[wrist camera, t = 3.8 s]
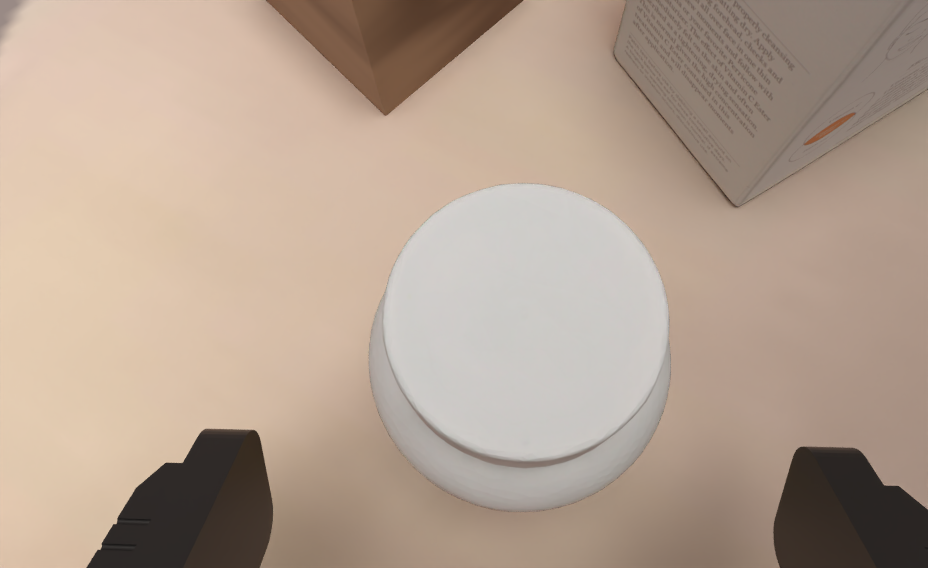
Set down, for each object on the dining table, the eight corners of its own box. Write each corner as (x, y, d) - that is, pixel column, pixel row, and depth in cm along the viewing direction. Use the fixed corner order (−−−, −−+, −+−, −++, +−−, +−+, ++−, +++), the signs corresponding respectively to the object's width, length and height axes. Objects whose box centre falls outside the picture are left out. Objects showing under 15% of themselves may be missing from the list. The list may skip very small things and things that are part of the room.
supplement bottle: (602, 517, 18) (718, 552, 9) (396, 489, 18) (296, 495, 9) (616, 313, 19) (728, 157, 10) (425, 292, 20) (364, 123, 10)
